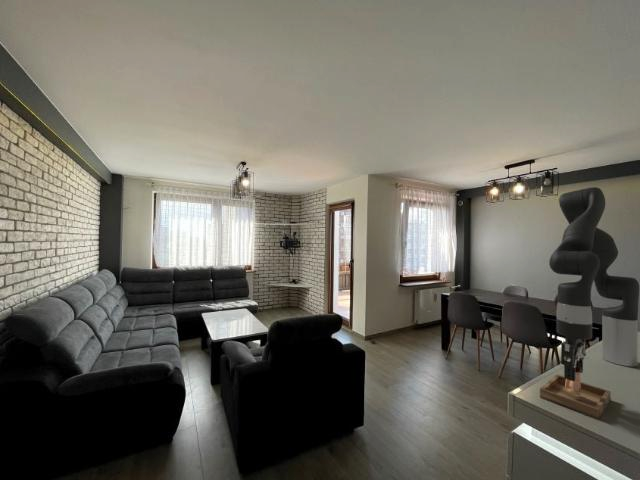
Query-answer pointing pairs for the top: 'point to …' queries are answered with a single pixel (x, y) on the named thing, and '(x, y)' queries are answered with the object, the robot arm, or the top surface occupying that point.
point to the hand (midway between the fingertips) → (573, 375)
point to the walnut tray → (577, 397)
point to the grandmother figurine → (575, 385)
